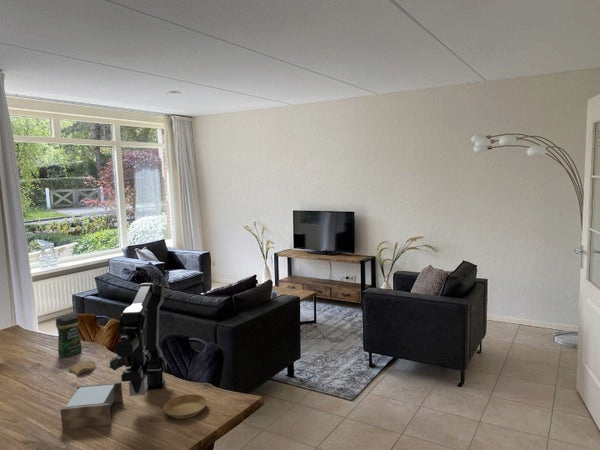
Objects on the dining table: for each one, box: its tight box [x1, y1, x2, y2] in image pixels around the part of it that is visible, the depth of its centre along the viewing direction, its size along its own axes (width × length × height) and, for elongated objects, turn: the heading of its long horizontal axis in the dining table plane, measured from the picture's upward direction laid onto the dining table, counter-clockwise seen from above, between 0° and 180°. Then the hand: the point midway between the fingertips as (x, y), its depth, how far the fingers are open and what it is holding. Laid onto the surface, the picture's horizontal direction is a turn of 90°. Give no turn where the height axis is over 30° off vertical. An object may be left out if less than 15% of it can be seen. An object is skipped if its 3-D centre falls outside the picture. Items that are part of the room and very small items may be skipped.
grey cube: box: [128, 375, 148, 397], centre depth 162 cm, size 5×5×5 cm
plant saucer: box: [162, 393, 208, 420], centre depth 161 cm, size 15×15×3 cm
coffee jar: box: [55, 313, 83, 358], centre depth 217 cm, size 10×8×19 cm
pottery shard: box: [67, 360, 97, 376], centre depth 198 cm, size 11×4×10 cm
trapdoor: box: [64, 384, 115, 408], centre depth 161 cm, size 12×14×5 cm
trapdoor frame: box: [60, 381, 124, 431], centre depth 161 cm, size 15×17×7 cm
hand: (138, 389), depth 162 cm, fingers closed on grey cube, 5 cm apart
